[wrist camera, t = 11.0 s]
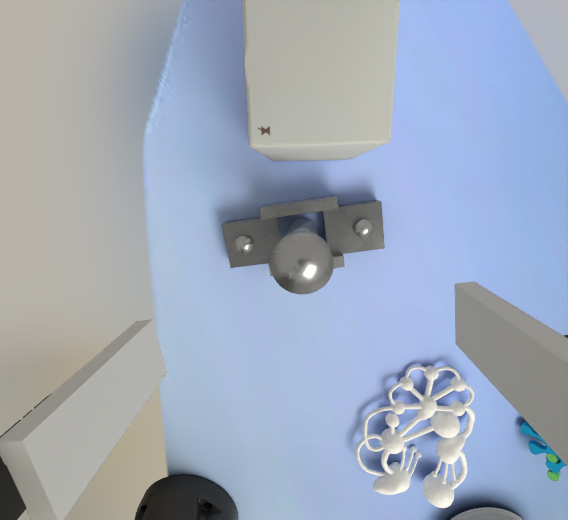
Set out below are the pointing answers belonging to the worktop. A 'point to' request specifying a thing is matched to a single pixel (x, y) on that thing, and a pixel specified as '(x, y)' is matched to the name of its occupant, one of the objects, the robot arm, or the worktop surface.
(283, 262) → the pin
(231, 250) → the bolted rod clamp
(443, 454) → the tangled rod sculpture
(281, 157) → the supplement box
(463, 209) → the worktop surface
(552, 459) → the gear
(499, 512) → the lid
